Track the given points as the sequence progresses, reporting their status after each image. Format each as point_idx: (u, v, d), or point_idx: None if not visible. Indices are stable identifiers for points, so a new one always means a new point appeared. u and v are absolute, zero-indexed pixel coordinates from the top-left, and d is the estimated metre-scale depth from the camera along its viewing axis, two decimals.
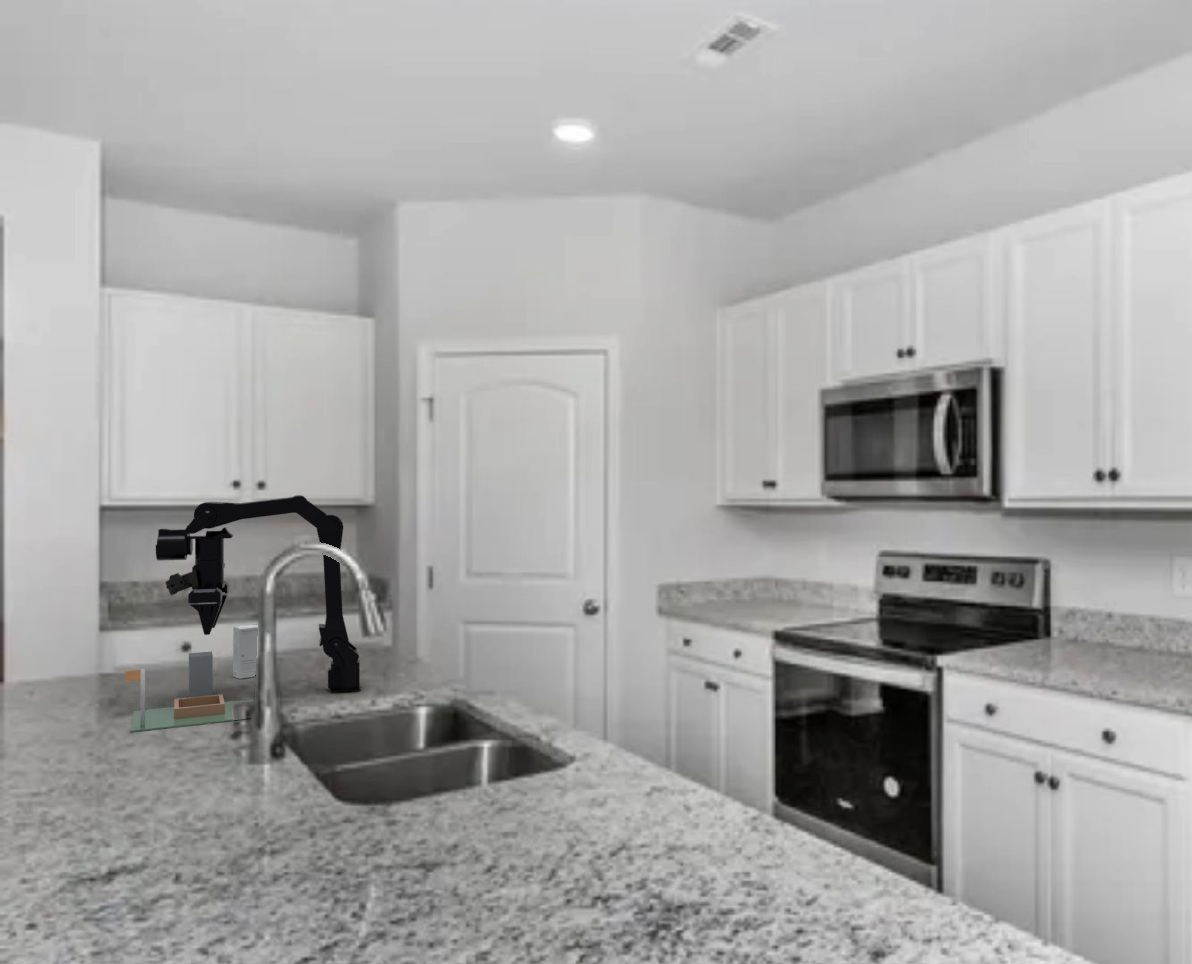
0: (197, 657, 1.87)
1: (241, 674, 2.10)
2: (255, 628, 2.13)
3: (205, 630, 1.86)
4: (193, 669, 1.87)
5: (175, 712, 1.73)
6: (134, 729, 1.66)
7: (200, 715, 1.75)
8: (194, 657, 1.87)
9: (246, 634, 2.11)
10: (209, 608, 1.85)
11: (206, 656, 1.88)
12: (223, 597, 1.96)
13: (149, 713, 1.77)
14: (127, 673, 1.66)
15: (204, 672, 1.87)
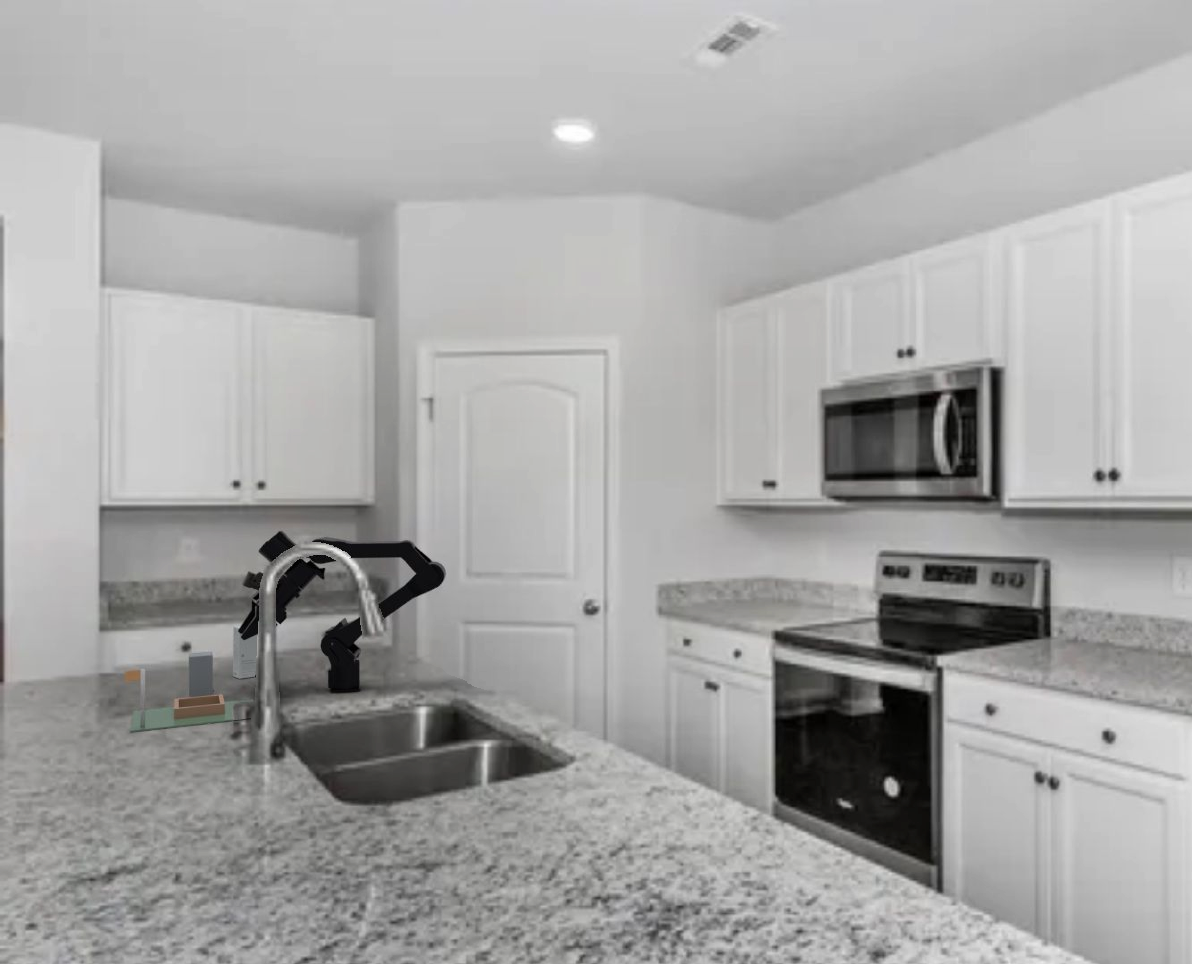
0: (197, 657, 1.87)
1: (241, 674, 2.10)
2: None
3: (244, 635, 1.88)
4: (193, 669, 1.87)
5: (175, 712, 1.73)
6: (134, 729, 1.66)
7: (200, 715, 1.75)
8: (194, 657, 1.87)
9: None
10: None
11: (206, 656, 1.88)
12: None
13: (149, 713, 1.77)
14: (127, 673, 1.66)
15: (204, 672, 1.87)
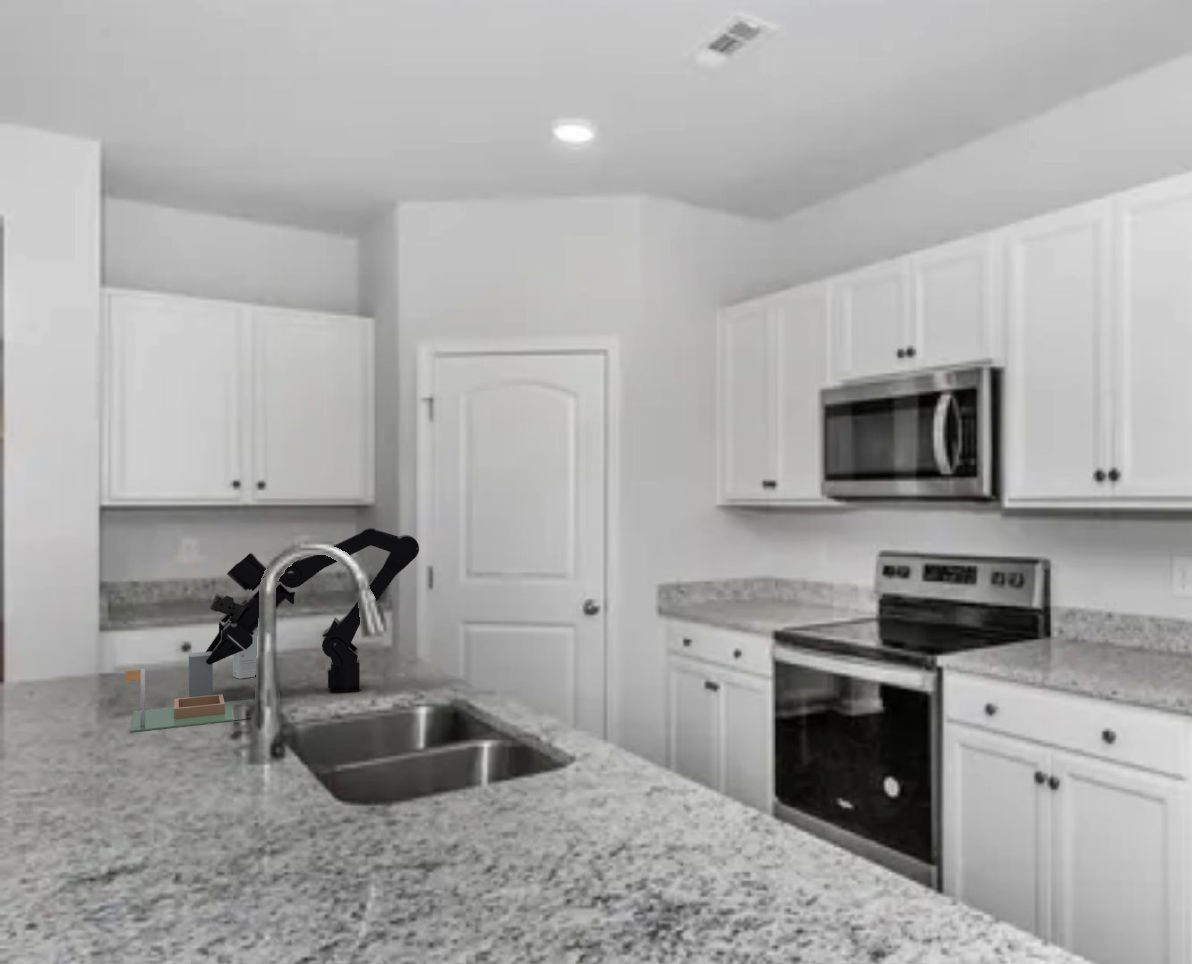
0: (197, 657, 1.87)
1: (241, 674, 2.10)
2: None
3: (209, 659, 1.86)
4: (193, 669, 1.87)
5: (175, 712, 1.73)
6: (134, 729, 1.66)
7: (200, 715, 1.75)
8: (194, 657, 1.87)
9: None
10: (229, 645, 1.87)
11: (206, 656, 1.88)
12: None
13: (149, 713, 1.77)
14: (127, 673, 1.66)
15: (204, 672, 1.87)
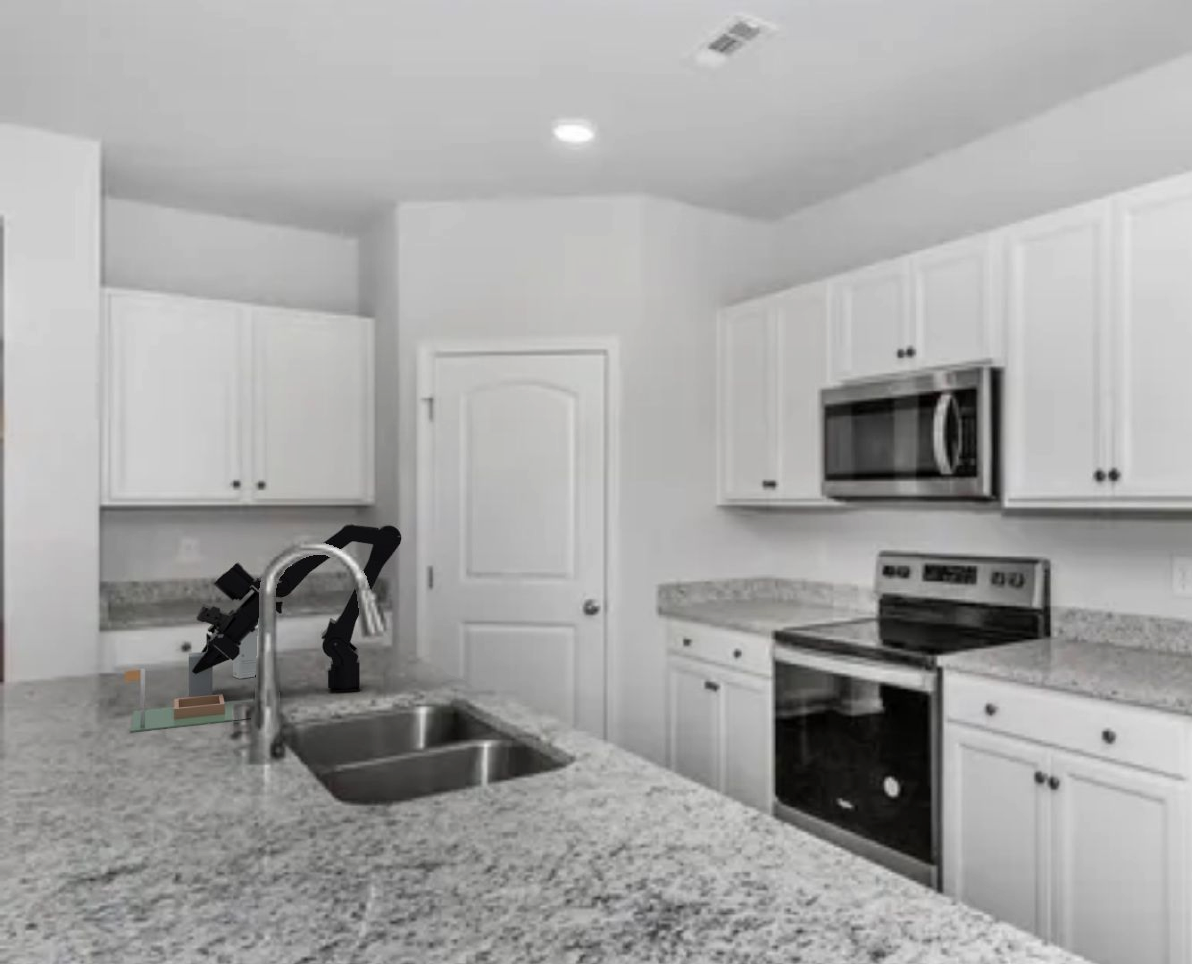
0: (197, 657, 1.87)
1: (241, 674, 2.10)
2: (255, 628, 2.13)
3: (196, 669, 1.86)
4: None
5: (175, 712, 1.73)
6: (134, 729, 1.66)
7: (200, 715, 1.75)
8: (194, 657, 1.87)
9: None
10: (216, 655, 1.87)
11: None
12: None
13: (149, 713, 1.77)
14: (127, 673, 1.66)
15: (203, 672, 1.87)
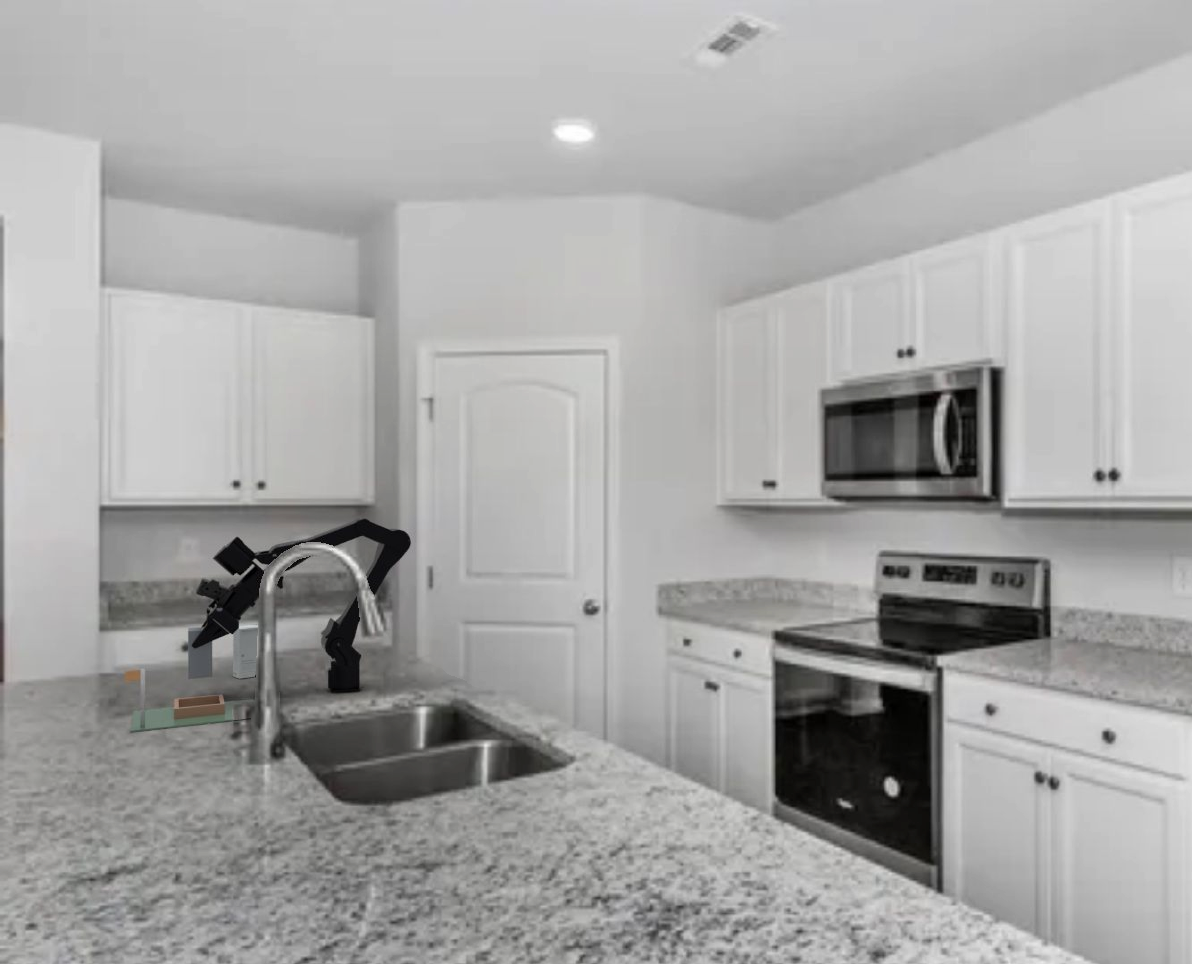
0: (196, 631, 1.84)
1: (241, 674, 2.10)
2: (255, 628, 2.13)
3: (195, 643, 1.84)
4: None
5: (175, 712, 1.73)
6: (134, 729, 1.66)
7: (200, 715, 1.75)
8: (193, 631, 1.84)
9: (246, 634, 2.11)
10: (215, 629, 1.85)
11: None
12: None
13: (149, 713, 1.77)
14: (127, 673, 1.66)
15: (203, 647, 1.85)
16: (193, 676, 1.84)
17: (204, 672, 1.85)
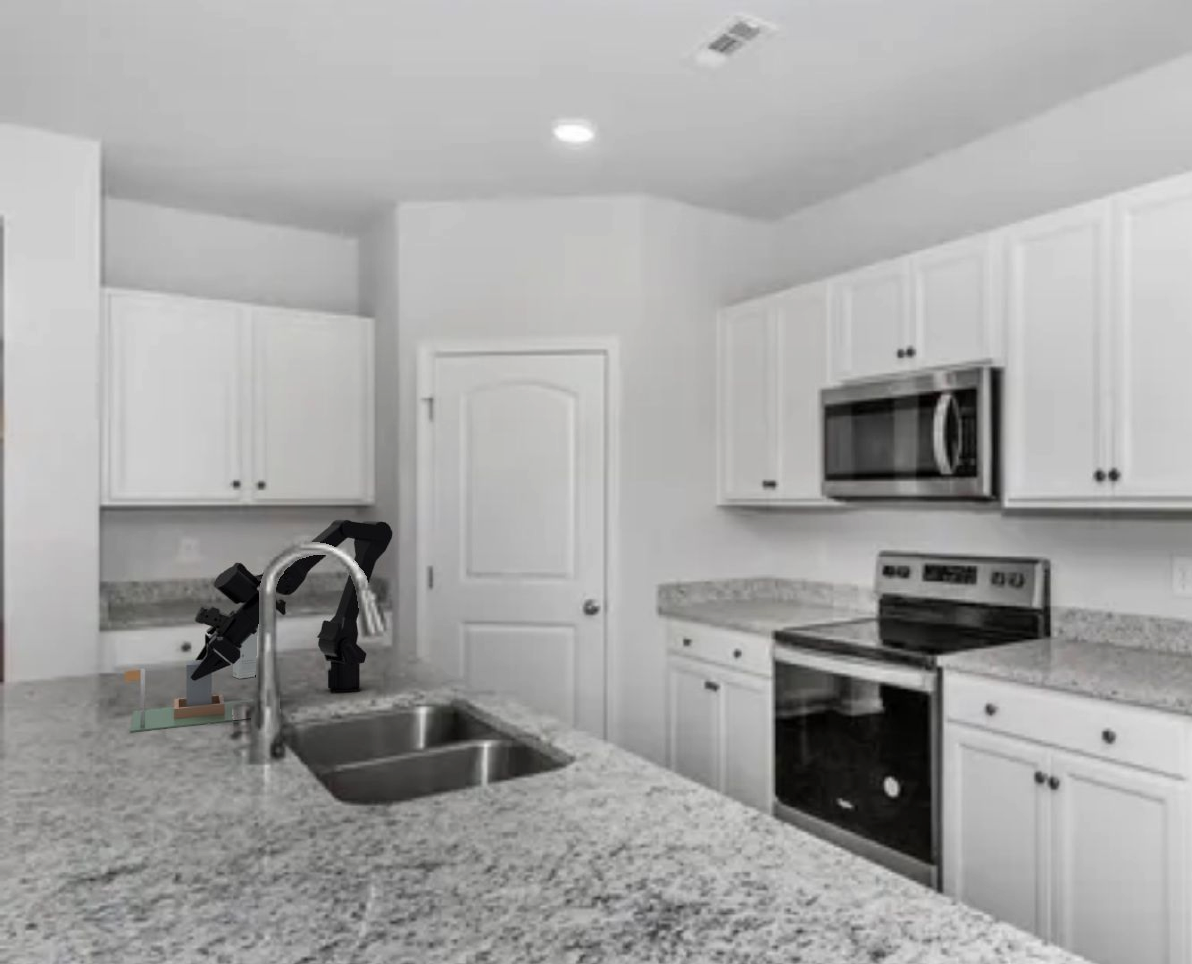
0: (195, 665, 1.77)
1: (241, 674, 2.10)
2: None
3: (195, 675, 1.74)
4: None
5: (175, 712, 1.73)
6: (134, 729, 1.66)
7: (200, 715, 1.75)
8: (192, 665, 1.77)
9: None
10: (215, 660, 1.75)
11: None
12: None
13: (149, 713, 1.77)
14: (127, 673, 1.66)
15: (202, 681, 1.77)
16: None
17: None
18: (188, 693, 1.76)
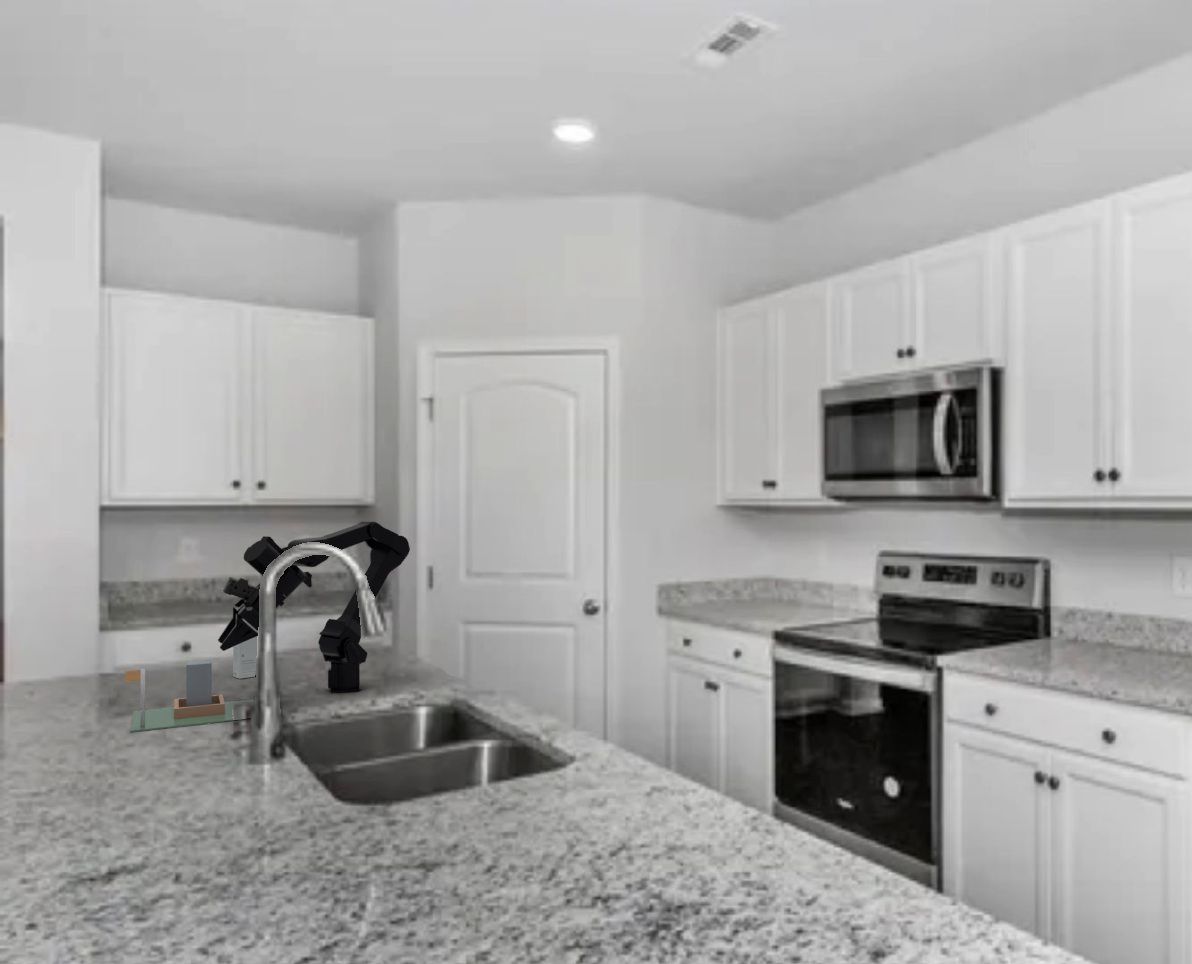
0: (195, 665, 1.77)
1: (241, 674, 2.10)
2: None
3: (224, 645, 1.77)
4: (191, 678, 1.76)
5: (175, 712, 1.73)
6: (134, 729, 1.66)
7: (200, 715, 1.75)
8: (192, 665, 1.77)
9: None
10: (244, 630, 1.78)
11: (205, 664, 1.78)
12: None
13: (149, 713, 1.77)
14: (127, 673, 1.66)
15: (202, 681, 1.77)
16: None
17: None
18: (188, 693, 1.76)
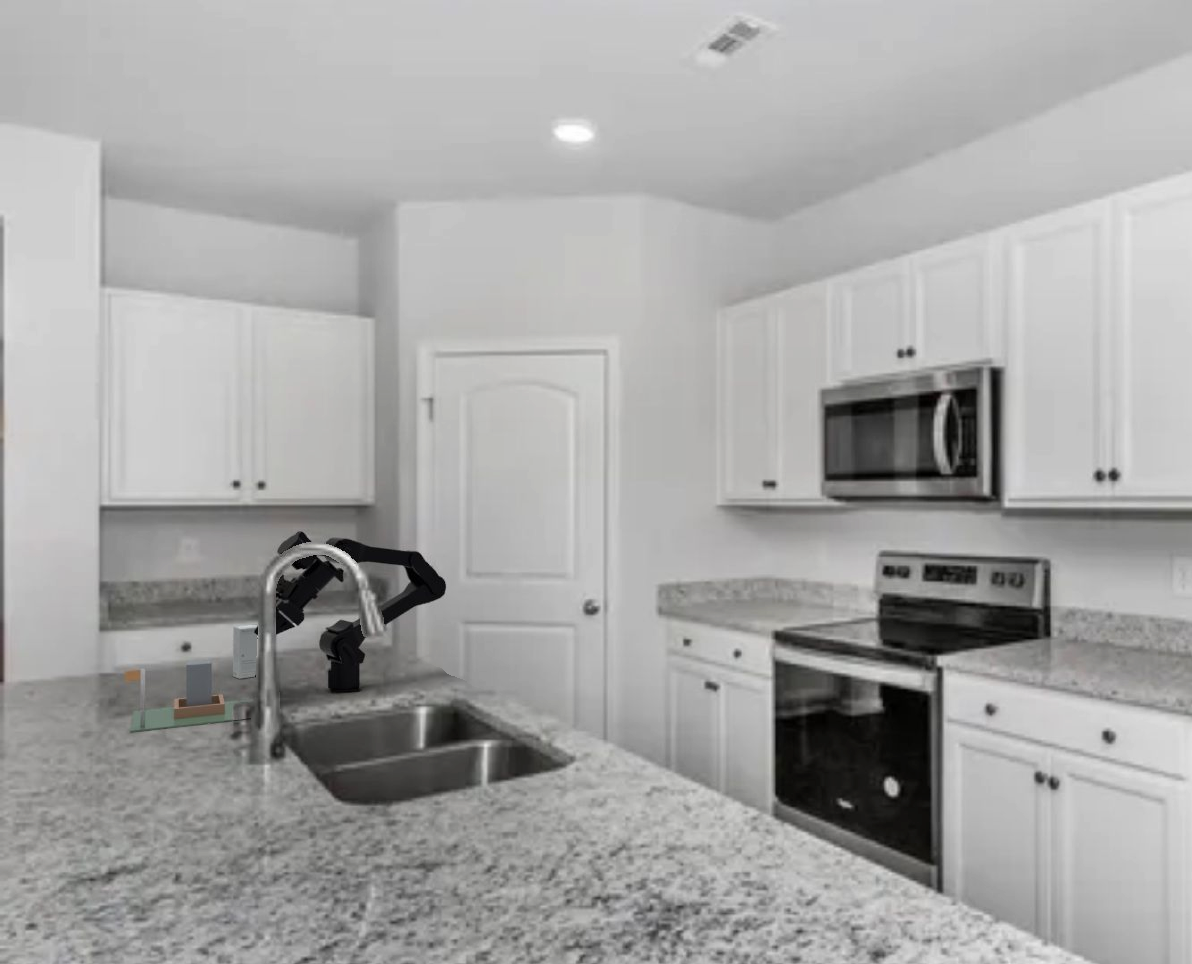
0: (195, 665, 1.77)
1: (241, 674, 2.10)
2: (255, 628, 2.13)
3: None
4: (191, 678, 1.76)
5: (175, 712, 1.73)
6: (134, 729, 1.66)
7: (200, 715, 1.75)
8: (192, 665, 1.77)
9: (246, 634, 2.11)
10: (281, 622, 1.86)
11: (205, 664, 1.78)
12: None
13: (149, 713, 1.77)
14: (127, 673, 1.66)
15: (202, 681, 1.77)
16: None
17: None
18: (188, 693, 1.76)
